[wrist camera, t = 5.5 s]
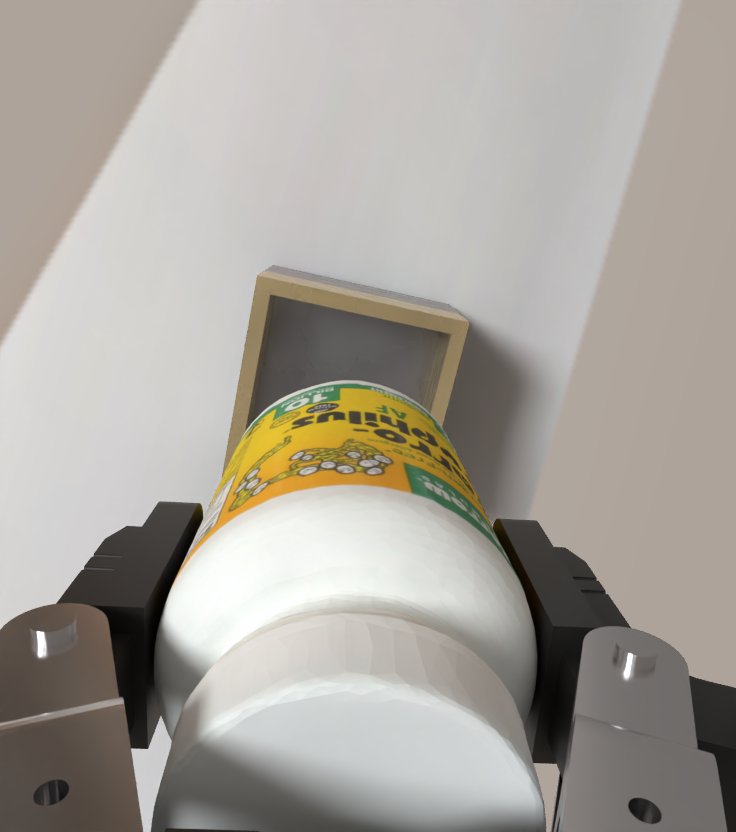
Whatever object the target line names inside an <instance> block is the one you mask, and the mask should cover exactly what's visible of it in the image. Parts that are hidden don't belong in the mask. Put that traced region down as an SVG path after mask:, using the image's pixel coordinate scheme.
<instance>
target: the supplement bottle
mask: <svg viewBox="0 0 736 832" xmlns="http://www.w3.org/2000/svg"><path fill="white" fill-rule="evenodd" d="M537 658H538V657H537V644H536V636H535V628H534V624H533V621H532V617H531V613H530V609H529V606H528V603H527V600H526V597H525V593H524V590H523V587H522V585H521V582H520V580H519V578H518V576H517V574H516V573H515V571H514V569H513V567H512V565H511V563H510V561H509V559H508V557H507V555H506V553H505V552H504V549H503V548H502V546H501V544H500V542H499V540H498V538H497V536H496V534H495V532H494V530H493V528H492V526H491V524H490V522H489V520H488V518H487V516H486V514H485V511H484V509H483V507H482V505H481V502H480V500H479V497H478V495H477V494H476V492H475V490H474V488H473V486H472V484H471V482H470V479H469V477H468V475H467V473H466V471H465V469H464V467H463V465H462V463H461V461H460V459H459V457H458V455H457V452H456V450H455V449H454V447H453V446H452V444H451V442H450V440H449V438H448V436H447V434H446V433H445V431H444V430H443V428H442V427H441V426H440V424H439V423H438V422H437V420H436V419H435V418H434V417H433V416H432V414H431V413H429V412H428V411H427V410H426V409H425V408H424V407H423V406H421V405H420V404H419V403H417V402H416V401H414V400H413V399H411V398H409V397H408V396H406V395H404V394H402V393H400V392H398V391H396V390H393V389H391V388H388V387H385V386H382V385H379V384H374V383H370V382H365V381H359V380H341V381H333V382H327V383H323V384H319V385H315V386H312V387H309V388H306V389H302V390H299V391H296V392H294V393H292V394H289V395H287V396H285V397H283V398H281V399H279V400H278V401H276V402H275V403H274V404H272V405H271V406H269V407H268V408H266V409H265V410H264V411H263V412H262V413H261V414H260V415H259V416H258V417H257V418H256V419H255V420H254V421H253V422H252V424H251V425H250V426H249V428H248V429H247V430H246V432H245V433H244V435H243V437H242V438H241V440H240V442H239V444H238V445H237V447H236V449H235V451H234V453H233V455H232V458H231V461H230V463H229V465H228V467H227V469H226V471H225V473H224V476H223V478H222V480H221V482H220V484H219V487H218V489H217V491H216V493H215V495H214V497H213V499H212V501H211V503H210V506H209V508H208V510H207V512H206V514H205V516H204V519H203V521H202V523H201V525H200V527H199V529H198V531H197V534H196V536H195V538H194V541H193V543H192V545H191V547H190V549H189V551H188V553H187V555H186V557H185V560H184V562H183V564H182V566H181V568H180V570H179V572H178V574H177V576H176V578H175V580H174V583H173V585H172V587H171V590H170V593H169V595H168V598H167V601H166V603H165V606H164V609H163V612H162V616H161V619H160V623H159V626H158V630H157V635H156V641H155V650H154V681H155V691H156V696H157V701H158V706H159V709H160V713H161V716H162V719H163V721H164V724H165V726H166V729H167V731H168V734H169V736H170V738H171V740H172V744H171V749H170V753H169V756H168V759H167V763H166V766H165V770H164V773H163V776H162V780H161V783H160V787H159V791H158V795H157V798H156V802H155V806H154V812H153V819H152V827H151V832H165V829H166V828H179V829H214V830H250V831H259V832H546V818H545V808H544V801H543V797H542V793H541V789H540V784H539V780H538V777H537V774H536V770H535V767H534V764H533V760H532V757H531V754H530V750H529V747H528V743H527V740H526V734H525V730H524V725H525V722H526V720H527V717H528V714H529V711H530V708H531V704H532V701H533V697H534V691H535V686H536V678H537Z"/></svg>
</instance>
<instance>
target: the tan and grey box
mask: <svg viewBox="0 0 736 832" xmlns="http://www.w3.org/2000/svg"><path fill="white" fill-rule="evenodd" d="M469 324H470V322H469V321H468V320H466V319H465V318H464V317H463V316H462V315H461V314H459V313H458V312H457V311H456V310H455V309H454V308H452V307H451V306H450V305H449V304H445V303H440V302H436V301H431V300H427V299H422V298H418V297H413V296H409V295H404V294H400V293H395V292H391V291H387V290H382V289H378V288H373V287H369V286H364V285H360V284H355V283H351V282H346V281H342V280H337V279H333V278H328V277H324V276H319V275H315V274H310V273H306V272H301V271H297V270H292V269H288V268H284V267H279V266H275V265H273V266H271V267H269V268H268V269H266V270H265V271H263V272H262V273H260V274H259V275H257V280H256V286H255V291H254V297H253V303H252V308H251V314H250V320H249V326H248V331H247V337H246V343H245V348H244V354H243V360H242V366H241V371H240V377H239V383H238V388H237V394H236V400H235V406H234V411H233V417H232V423H231V428H230V434H229V440H228V445H227V451H226V457H225V463H224V468H223V474H222V477H223V476H224V473H225V471H226V469H227V467H228V465H229V463H230V461H231V458H232V455H233V453H234V451H235V449H236V447H237V445H238V444H239V442H240V440H241V438H242V437H243V435H244V433H245V432H246V430H247V429H248V428H249V426H250V425H251V424H252V422H253V421H254V420H255V419H256V418H257V417H258V416H259V415H260V414H261V413H262V412H263V411H264V410H265V409H266V408H268V407H269V406H271V405H272V404H274V403H275V402H276V401H278V400H279V399H281V398H283V397H285V396H287V395H289V394H292V393H294V392H296V391H299V390H302V389H306V388H309V387H312V386H315V385H319V384H323V383H327V382H333V381H341V380H359V381H365V382H370V383H374V384H379V385H382V386H385V387H388V388H391V389H393V390H396V391H398V392H400V393H402V394H404V395H406V396H408V397H409V398H411V399H413V400H414V401H416V402H417V403H419V404H420V405H421V406H423V407H424V408H425V409H426V410H427V411H428V412H429V413H431V414H432V416H433V417H434V418H435V419H436V420H437V422H438V423H439V424H440V426H441V427H442V426H443V422H444V418H445V415H446V411H447V407H448V403H449V400H450V396H451V392H452V388H453V384H454V381H455V377H456V373H457V369H458V365H459V362H460V358H461V354H462V350H463V347H464V343H465V339H466V335H467V331H468V328H469Z"/></svg>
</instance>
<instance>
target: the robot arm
mask: <svg viewBox="0 0 736 832" xmlns="http://www.w3.org/2000/svg"><path fill="white" fill-rule="evenodd" d="M202 521H203V510H202V506H201V504H200V503H182V502H162V501H160V502H159V503H158V504H157V505H156V507H155V508H154V510H153V511H152V513H151V514H150V516H149V517H148V519H147V520H146V522H145V523H144V525H143V526H142V527H136V526H126V527H125V528H123V529H121V530H119V531H118V532H116V533H114V534H113V535H111V536H109V537H107V538H106V539H105V540H104V541H103V542H102V544H101V545H100V546H99V548H98V549H97V550H96V552H95V553H94V557H91V558H90V560H89V561H88V562H87V564H86V565H85V566H84V570H81V572H80V573H79V574H78V576H77V577H76V578H75V580H74V581H73V582H72V583H71V585H70V586H69V587H68V589H67V590H66V591H65V593H64V594H63V595H62V597H61V598H60V599H59V601H58V602H57V603H56V604H52V605H47V606H42V607H39V608H35V609H32V610H30V611H27V612H25V613H23V614H21V615H19V616H17V617H15V618H14V619H12V620H10V621H9V622H8V623H7V624H5V625H4V626H3V627H2V628H1V630H0V832H143V827H142V820H141V813H140V807H139V800H138V793H137V786H136V780H135V773H134V766H133V759H132V753H131V748H136V749H148V748H149V745H150V742H151V740H152V737H153V734H154V732H155V729H156V726H157V724H158V721H159V718H160V716H161V713H160V709H159V706H158V701H157V696H156V691H155V681H154V650H155V641H156V635H157V630H158V626H159V623H160V619H161V616H162V612H163V609H164V606H165V603H166V601H167V598H168V595H169V593H170V590H171V587H172V585H173V583H174V580H175V578H176V576H177V574H178V572H179V570H180V568H181V566H182V564H183V562H184V560H185V557H186V555H187V553H188V551H189V549H190V547H191V545H192V543H193V541H194V538H195V536H196V534H197V531H198V529H199V527H200V525H201V523H202ZM493 530H494V532H495V534H496V536H497V538H498V540H499V542H500V544H501V546H502V548H503V549H504V552H505V553H506V555H507V557H508V559H509V561H510V563H511V565H512V567H513V569H514V571H515V573H516V574H517V576H518V578H519V580H520V582H521V585H522V587H523V590H524V593H525V597H526V600H527V603H528V606H529V609H530V613H531V617H532V621H533V624H534V628H535V636H536V644H537V657H538V658H537V678H536V686H535V691H534V697H533V701H532V704H531V708H530V711H529V714H528V717H527V720H526V722H525V725H524V730H525V734H526V740H527V743H528V747H529V750H530V754H531V757H532V760H533V763H550V764H551V763H552V764H557V766H558V768H559V771H560V775H559V780H558V786H557V791H556V797H555V804H554V811H553V818H552V825H551V832H736V688H733V687H730V686H725V685H721V684H717V683H713V682H709V681H705V680H701V679H698V678H694V677H692V676H689V673H688V667H687V663H686V662H685V660H684V658H683V657H682V656H681V654H680V653H679V652H678V651H677V650H676V649H675V648H673V647H672V646H671V645H669V644H668V643H666V642H664V641H663V640H661V639H659V638H657V637H655V636H653V635H651V634H648V633H645V632H643V631H639V630H636V629H632V628H631V627H630V626H629V624H628V623H627V621H626V620H625V618H624V617H623V616H622V614H621V613H620V611H619V610H618V608H617V607H616V605H615V604H614V603H613V601H612V600H611V598H610V597H609V595H608V594H606V593H605V589H604V588H603V587H602V585H601V584H600V582H599V581H596V577H595V575H594V574H593V572H592V571H591V569H590V568H589V566H588V565H587V563H586V562H585V561H584V560H582V559H580V558H579V557H578V556H576V555H575V554H573V553H572V552H571V551H569V550H568V549H566V548H562V547H553V545H552V544H551V542H550V541H549V539H548V537H547V536H546V534H545V532H544V531H543V529H542V528H541V526H540V525H539V523H538V522H537V521H533V520H513V519H496V521H495V523H494V526H493ZM165 832H259V831H250V830H214V829H179V828H166V829H165Z"/></svg>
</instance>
